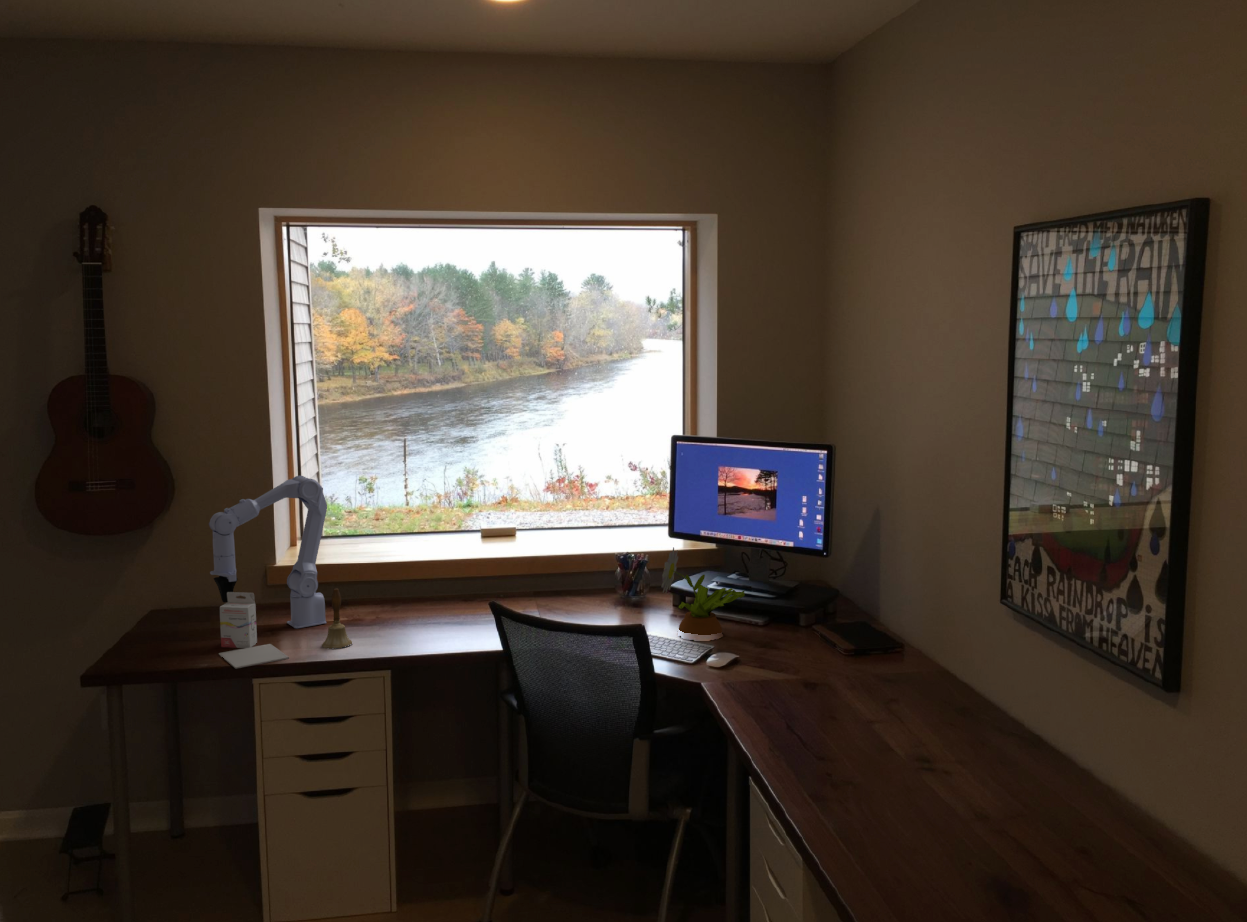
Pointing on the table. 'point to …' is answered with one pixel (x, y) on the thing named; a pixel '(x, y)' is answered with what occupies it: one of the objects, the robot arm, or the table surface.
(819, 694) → the table surface
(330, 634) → the hand bell
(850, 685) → the table surface
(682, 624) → the decorative plant
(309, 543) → the robot arm
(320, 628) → the table surface
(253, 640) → the ink cartridge box
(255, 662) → the mat
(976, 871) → the table surface
